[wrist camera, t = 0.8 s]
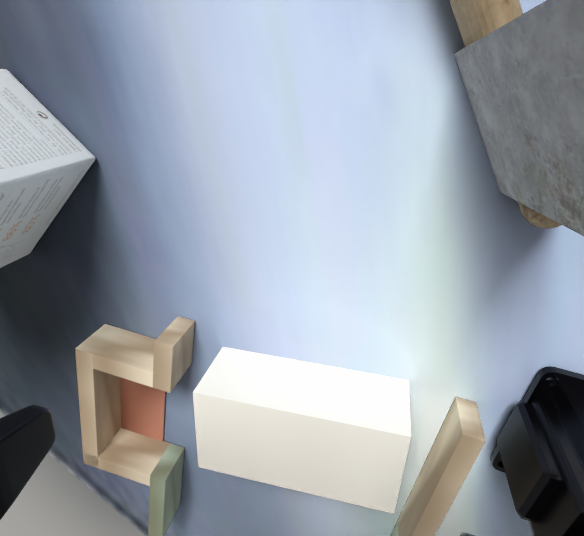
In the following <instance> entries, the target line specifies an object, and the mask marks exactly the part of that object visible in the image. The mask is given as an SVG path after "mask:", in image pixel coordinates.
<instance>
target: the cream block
mask: <svg viewBox="0 0 584 536" xmlns="http://www.w3.org/2000/svg"><path fill="white" fill-rule="evenodd" d="M193 402H194V415H195V428H196V441H197V454H198V467H200V468H204V469H208V470H212V471H217V472H221V473H225V474H229V475H233V476H238V477H242V478H246V479H250V480H254V481H258V482H263V483H267V484H271V485H275V486H279V487H284V488H288V489H292V490H296V491H300V492H304V493H309V494H313V495H317V496H321V497H325V498H330V499H334V500H338V501H342V502H346V503H350V504H355V505H359V506H363V507H367V508H371V509H375V510H380V511H384V512H388V513H392V514H394V512H395V508H396V503H397V499H398V494H399V490H400V485H401V481H402V476H403V472H404V467H405V463H406V458H407V454H408V450H409V445H410V441H411V417H410V394H409V380H405V379H400V378H394V377H389V376H383V375H378V374H372V373H366V372H361V371H355V370H350V369H344V368H339V367H333V366H327V365H322V364H316V363H311V362H305V361H300V360H294V359H288V358H283V357H277V356H272V355H266V354H261V353H255V352H249V351H244V350H238V349H233V348H227V347H222V349H221V350H220V352H219V353H218V355H217V356H216V358H215V359H214V361H213V362H212V364H211V365H210V367H209V368H208V370H207V372H206V373H205V375H204V376H203V378H202V379H201V381H200V382H199V384H198V385H197V387H196V388H195V390H194V391H193Z"/></svg>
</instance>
